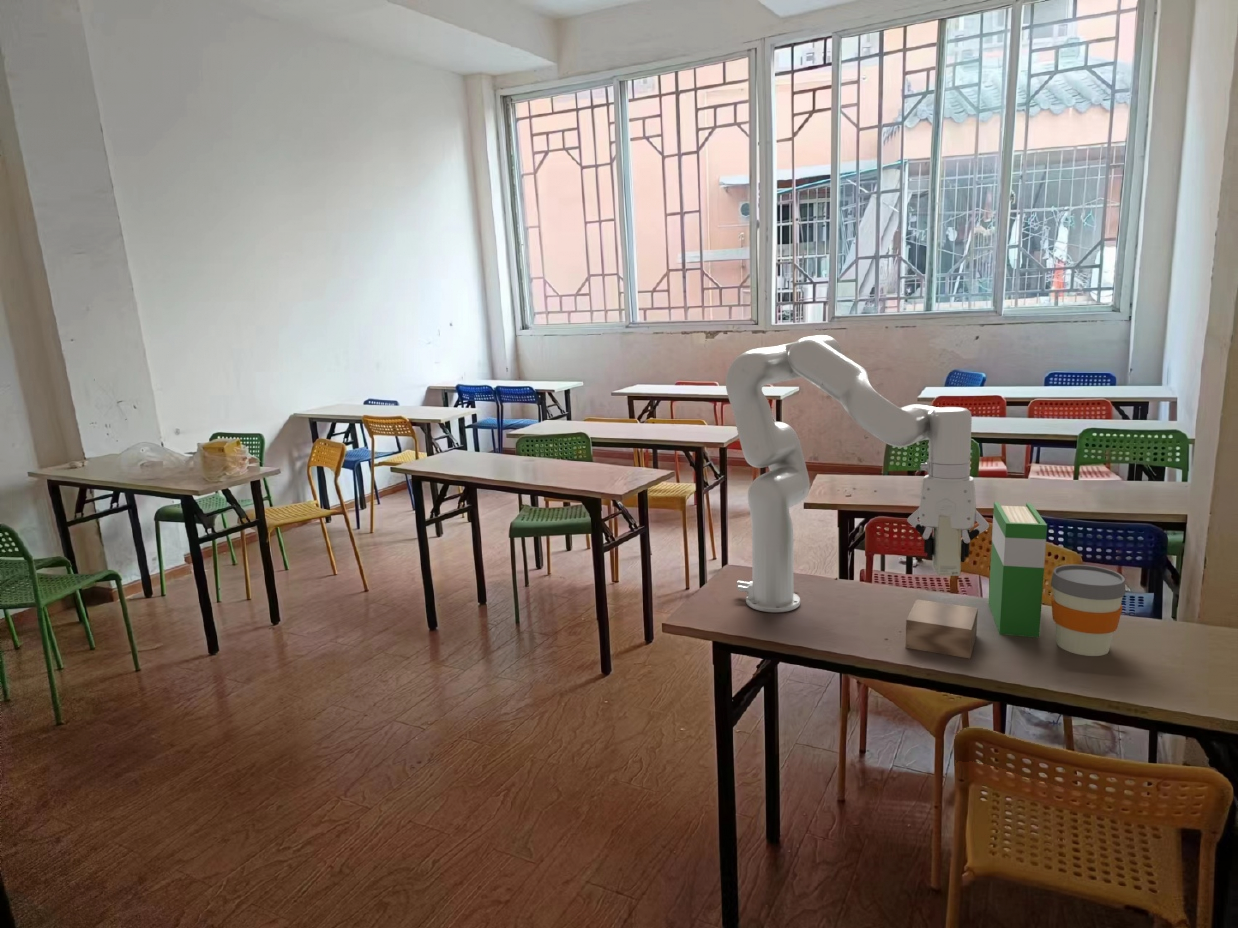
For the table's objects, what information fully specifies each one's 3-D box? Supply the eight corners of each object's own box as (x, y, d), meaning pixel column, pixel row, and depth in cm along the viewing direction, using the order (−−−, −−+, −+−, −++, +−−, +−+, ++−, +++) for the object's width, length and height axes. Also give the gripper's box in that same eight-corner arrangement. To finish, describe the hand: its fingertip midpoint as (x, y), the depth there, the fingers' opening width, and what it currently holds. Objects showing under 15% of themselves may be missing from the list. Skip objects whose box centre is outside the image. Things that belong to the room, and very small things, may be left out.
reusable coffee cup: (1035, 646, 154) (1040, 575, 151) (1061, 627, 161) (1066, 559, 159) (1106, 666, 144) (1112, 591, 141) (1129, 645, 152) (1136, 574, 149)
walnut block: (905, 647, 156) (906, 619, 154) (915, 625, 166) (916, 599, 165) (969, 658, 150) (971, 629, 148) (976, 635, 160) (977, 608, 159)
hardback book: (988, 602, 176) (994, 501, 172) (1024, 605, 174) (1030, 503, 169) (999, 633, 160) (1005, 523, 155) (1039, 637, 158) (1047, 525, 153)
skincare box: (961, 576, 151) (963, 516, 149) (937, 576, 152) (939, 516, 149) (954, 566, 157) (956, 508, 155) (931, 565, 158) (933, 508, 156)
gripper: (899, 471, 152) (898, 559, 155) (995, 476, 143) (991, 569, 146) (906, 464, 158) (904, 548, 161) (998, 468, 149) (995, 557, 153)
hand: (946, 557), depth 154 cm, fingers closed on skincare box, 5 cm apart
